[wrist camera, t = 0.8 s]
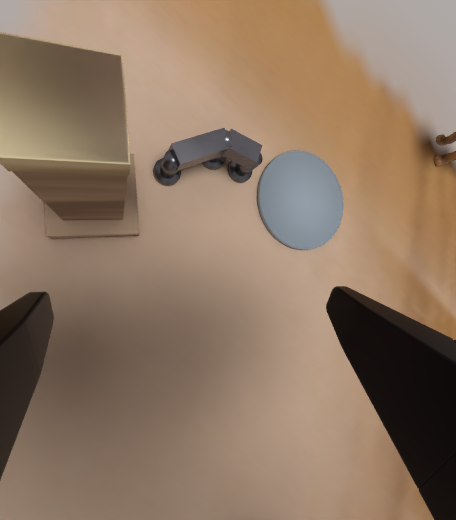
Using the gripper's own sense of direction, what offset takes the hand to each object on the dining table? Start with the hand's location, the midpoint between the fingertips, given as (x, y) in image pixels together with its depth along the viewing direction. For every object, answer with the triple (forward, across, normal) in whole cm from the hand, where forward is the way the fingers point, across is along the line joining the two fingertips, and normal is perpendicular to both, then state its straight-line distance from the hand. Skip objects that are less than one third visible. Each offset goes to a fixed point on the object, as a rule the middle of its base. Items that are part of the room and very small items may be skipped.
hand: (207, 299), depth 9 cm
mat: (+16, -12, +2) cm, 20 cm away
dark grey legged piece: (+16, -2, 0) cm, 16 cm away
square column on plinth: (+14, +6, +2) cm, 15 cm away
